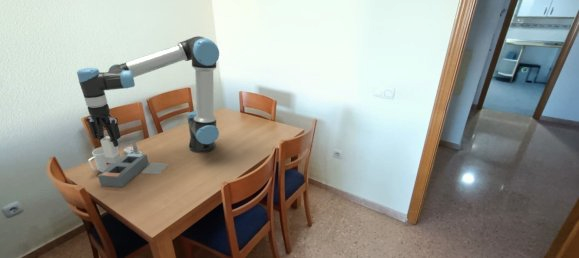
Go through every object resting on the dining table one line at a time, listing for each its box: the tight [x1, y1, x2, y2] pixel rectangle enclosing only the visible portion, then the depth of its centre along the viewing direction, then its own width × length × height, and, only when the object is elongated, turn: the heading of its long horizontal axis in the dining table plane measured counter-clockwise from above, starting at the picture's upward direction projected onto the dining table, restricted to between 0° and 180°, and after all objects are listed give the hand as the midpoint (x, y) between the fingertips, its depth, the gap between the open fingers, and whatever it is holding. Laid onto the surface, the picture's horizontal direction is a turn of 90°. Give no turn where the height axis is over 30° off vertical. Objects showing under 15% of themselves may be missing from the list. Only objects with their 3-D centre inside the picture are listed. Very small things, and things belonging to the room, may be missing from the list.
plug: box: [100, 135, 122, 163], centre depth 125 cm, size 4×4×12 cm
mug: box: [87, 146, 114, 173], centre depth 137 cm, size 12×9×11 cm
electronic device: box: [123, 141, 143, 155], centre depth 152 cm, size 5×10×15 cm
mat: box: [140, 162, 169, 175], centre depth 141 cm, size 10×10×1 cm
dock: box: [97, 153, 150, 188], centre depth 135 cm, size 11×21×6 cm, turn 174°
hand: (111, 151), depth 125 cm, fingers closed on plug, 4 cm apart
